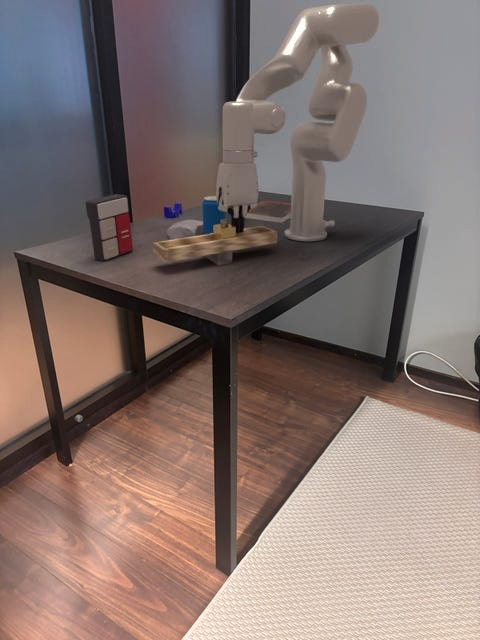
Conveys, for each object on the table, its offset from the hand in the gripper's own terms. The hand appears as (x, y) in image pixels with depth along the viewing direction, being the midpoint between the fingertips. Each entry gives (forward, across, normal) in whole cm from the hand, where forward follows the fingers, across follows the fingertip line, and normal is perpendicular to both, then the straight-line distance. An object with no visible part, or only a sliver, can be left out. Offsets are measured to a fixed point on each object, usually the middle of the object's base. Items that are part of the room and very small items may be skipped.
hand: (237, 231), depth 124 cm
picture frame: (+7, -35, -36) cm, 51 cm away
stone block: (+7, +3, -26) cm, 27 cm away
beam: (+7, +6, 0) cm, 9 cm away
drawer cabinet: (+7, +28, -17) cm, 33 cm away
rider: (+2, +4, 0) cm, 4 cm away
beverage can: (+7, -2, -17) cm, 18 cm away
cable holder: (+7, -4, -49) cm, 50 cm away
